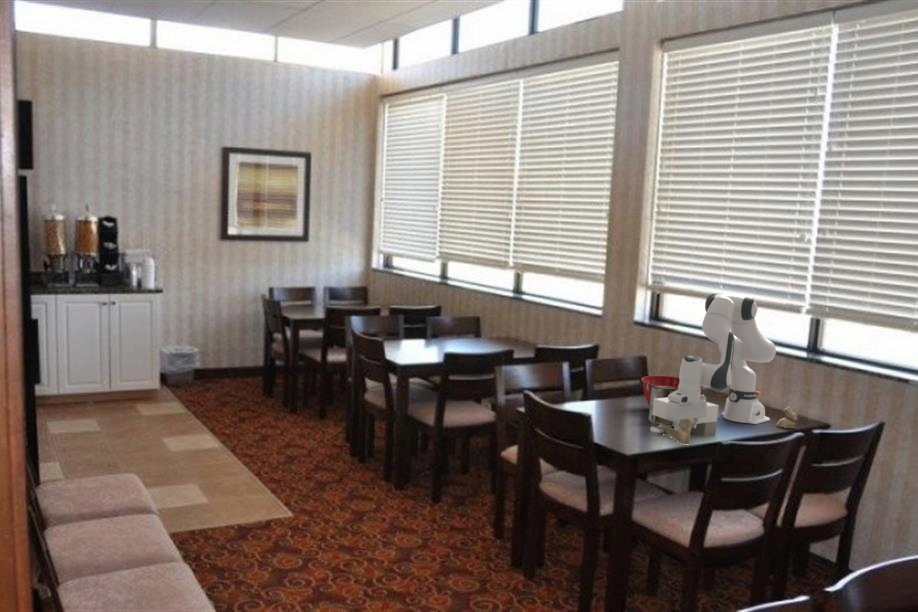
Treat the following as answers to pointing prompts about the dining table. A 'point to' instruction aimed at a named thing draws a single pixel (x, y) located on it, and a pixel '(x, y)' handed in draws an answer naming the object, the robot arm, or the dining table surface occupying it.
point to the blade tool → (680, 435)
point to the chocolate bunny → (788, 419)
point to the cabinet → (704, 425)
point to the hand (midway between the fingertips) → (685, 429)
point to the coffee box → (659, 393)
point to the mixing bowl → (659, 384)
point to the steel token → (657, 430)
